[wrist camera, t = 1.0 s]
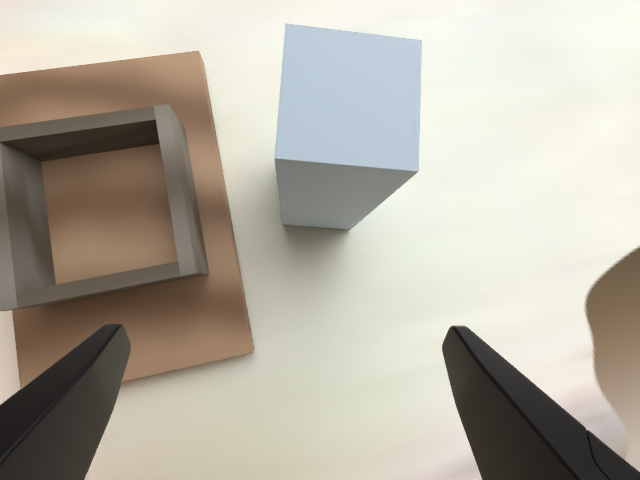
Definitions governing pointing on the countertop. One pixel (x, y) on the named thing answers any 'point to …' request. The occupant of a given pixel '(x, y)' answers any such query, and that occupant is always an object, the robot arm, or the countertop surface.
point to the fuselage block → (345, 124)
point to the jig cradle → (117, 215)
